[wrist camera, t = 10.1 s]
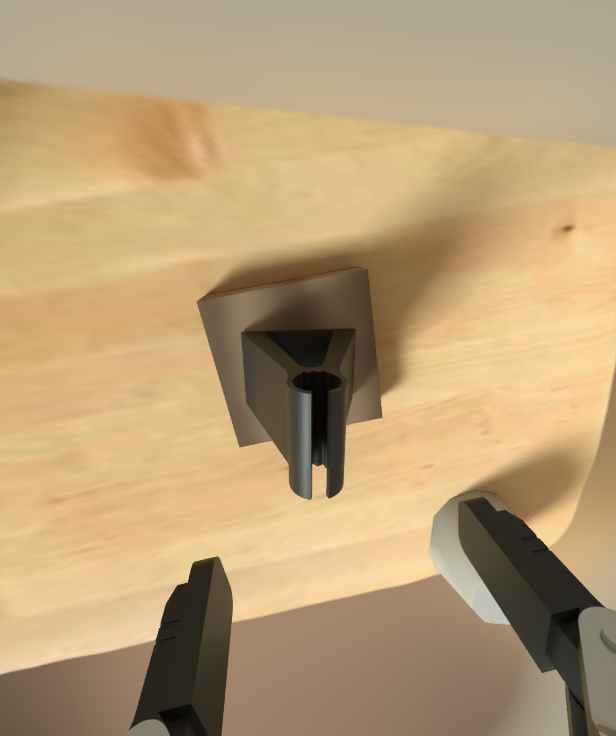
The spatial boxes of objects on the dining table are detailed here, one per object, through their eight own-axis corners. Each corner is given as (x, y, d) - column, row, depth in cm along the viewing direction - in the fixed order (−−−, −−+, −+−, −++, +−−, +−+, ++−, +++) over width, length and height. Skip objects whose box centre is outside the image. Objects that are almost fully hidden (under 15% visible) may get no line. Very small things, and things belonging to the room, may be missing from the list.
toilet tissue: (425, 576, 42) (461, 654, 34) (437, 493, 37) (482, 561, 29) (491, 568, 43) (542, 642, 35) (511, 486, 38) (575, 549, 30)
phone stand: (355, 328, 26) (418, 388, 15) (351, 395, 28) (404, 493, 17) (241, 330, 25) (219, 397, 14) (246, 400, 28) (229, 506, 16)
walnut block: (242, 429, 32) (239, 447, 29) (204, 295, 27) (196, 301, 24) (372, 402, 32) (382, 417, 30) (357, 266, 28) (367, 269, 25)
